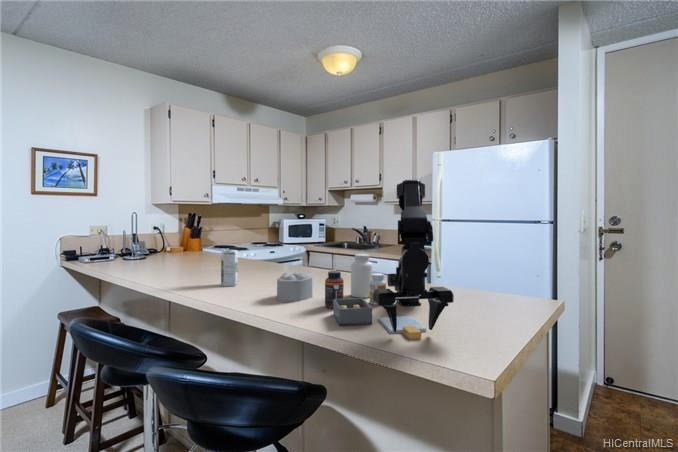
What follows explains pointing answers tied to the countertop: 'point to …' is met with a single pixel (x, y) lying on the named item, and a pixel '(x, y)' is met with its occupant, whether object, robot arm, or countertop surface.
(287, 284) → the lumpy-topped squat cylinder
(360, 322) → the tub
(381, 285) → the supplement bottle
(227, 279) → the syrup box
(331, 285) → the supplement bottle
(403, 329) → the lid
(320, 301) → the countertop surface
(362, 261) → the pill bottle
